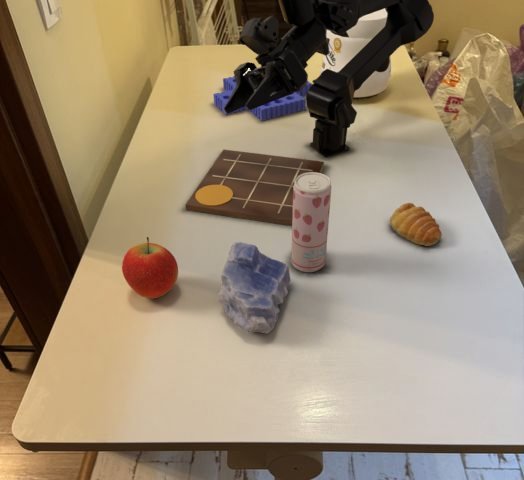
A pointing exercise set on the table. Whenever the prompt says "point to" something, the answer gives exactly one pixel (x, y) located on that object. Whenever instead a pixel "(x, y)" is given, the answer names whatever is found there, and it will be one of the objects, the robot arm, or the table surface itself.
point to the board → (251, 186)
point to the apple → (150, 269)
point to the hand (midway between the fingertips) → (236, 109)
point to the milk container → (351, 44)
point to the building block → (268, 110)
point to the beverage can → (310, 221)
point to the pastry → (415, 225)
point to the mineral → (253, 288)
